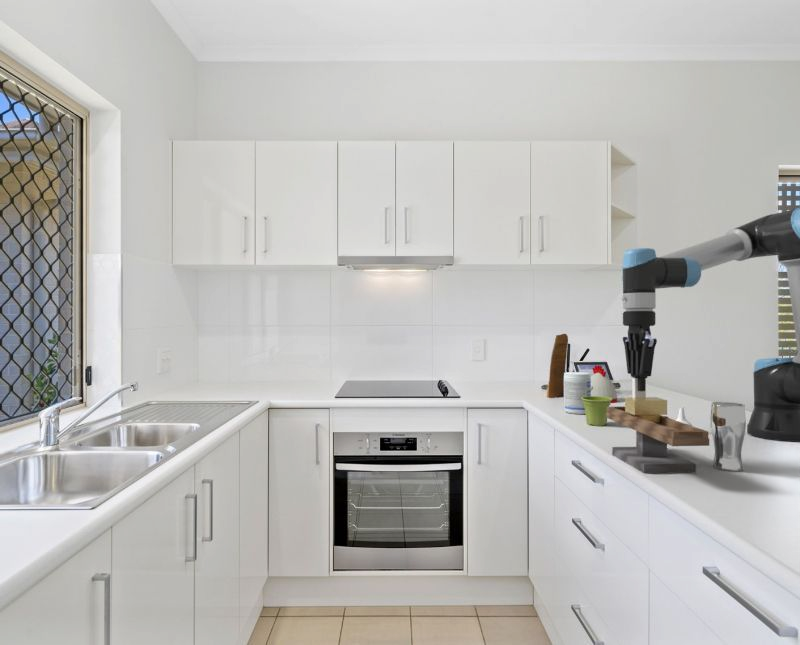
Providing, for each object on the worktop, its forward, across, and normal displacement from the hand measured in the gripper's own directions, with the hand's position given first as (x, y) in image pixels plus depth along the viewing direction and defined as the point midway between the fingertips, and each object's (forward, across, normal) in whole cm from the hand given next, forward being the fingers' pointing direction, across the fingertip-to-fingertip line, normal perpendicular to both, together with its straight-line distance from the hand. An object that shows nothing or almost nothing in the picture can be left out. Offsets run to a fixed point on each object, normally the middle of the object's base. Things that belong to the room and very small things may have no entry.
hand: (639, 403), depth 132 cm
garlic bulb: (+14, -27, +27) cm, 41 cm away
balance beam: (+14, +6, 0) cm, 15 cm away
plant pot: (+14, -40, +6) cm, 43 cm away
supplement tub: (+14, -62, +8) cm, 64 cm away
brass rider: (+4, +3, 0) cm, 5 cm away
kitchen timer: (+14, -89, +28) cm, 94 cm away
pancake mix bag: (+14, -103, +14) cm, 105 cm away
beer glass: (+14, +11, +16) cm, 23 cm away
